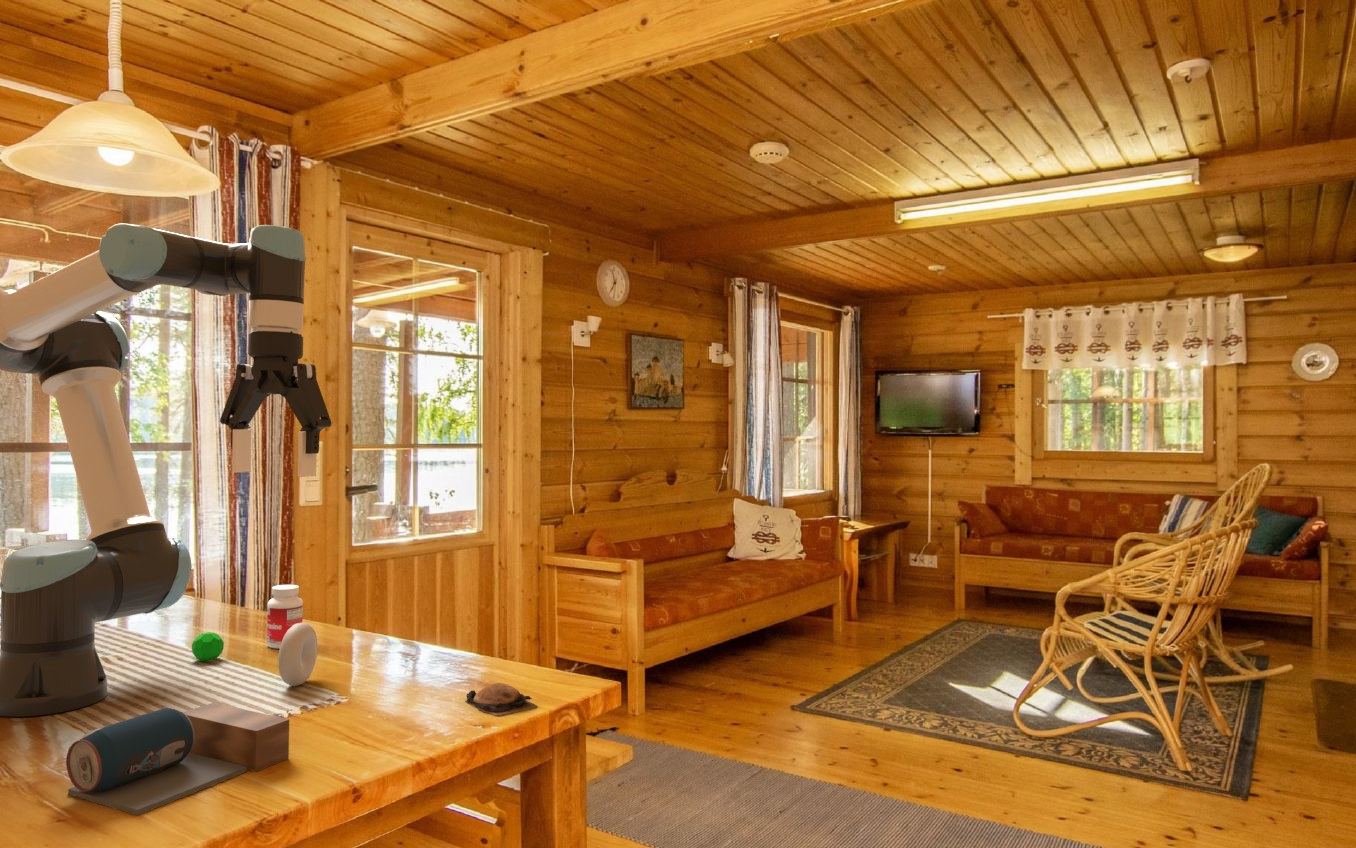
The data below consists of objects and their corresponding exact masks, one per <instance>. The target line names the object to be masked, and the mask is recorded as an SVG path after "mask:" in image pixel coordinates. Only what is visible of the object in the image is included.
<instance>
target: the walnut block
mask: <svg viewBox="0 0 1356 848" xmlns="http://www.w3.org/2000/svg"><path fill="white" fill-rule="evenodd" d="M182 712H183V713H185V714H186V715H187V716H188V717H189V719H190V720H191V722H192V725H193V728H194V734H195V739H194V744H193V747H192V749H191V751H190V752H191V753H194V754H198V755H202V756H206V757H210V758H214V759H218V760H222V761H226V762H230V763H234V764H237V765H241V766H245V767H247V770H248V771H251V772H255V773H256V772H259V771H261V770H264V769H266V768H268V767H271V766H274V765H276V764H278V763H281V762H284V761H286V760H288V759H289V753H290V749H289V747H290V719H289V718H285V717H280V716H277V715H271V714H266V713H262V712H257V711H254V710H253V711H252V710H249V709H243V708H240V707H239V708H238V707H235V706H231V705H230V706H229V705H225V704H220V703H218V702H217V703H216V702H211V703H208V704H205V705H202V706H198V707H195V708H192V709H188V710H185V711H182ZM247 770H246V771H247Z"/></svg>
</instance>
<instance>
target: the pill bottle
mask: <svg viewBox="0 0 1356 848" xmlns="http://www.w3.org/2000/svg"><path fill="white" fill-rule="evenodd" d="M299 594H300V586H299V585H297V584H279V585H274V586H272V587H271V595H272V598H271V599H269V601H268V602H267V605H266V607H267V610H266V611H267V614H266V615H267V616H266V645H267V647H269V648H271V649H275V650H276V649H278V650H280V646H281V643H282V640H283V637H284V635H285V634H286V632H287V630H288V629H290V628H291V627H292V626H293V625H294V624H297V623H303V611H304V610H303V609H304V605H303V604H304V601H303V599H302V598H301V597H299V596H298V595H299Z"/></svg>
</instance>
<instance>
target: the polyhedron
mask: <svg viewBox="0 0 1356 848" xmlns="http://www.w3.org/2000/svg"><path fill="white" fill-rule="evenodd" d="M224 644H225V642H224V641H223V638H222V637H221V635H219V634H218V633H217V632H211V631H207V632H202V633H201V634H199V635H198V636H197V637H195V639H194V640H193V641H192V645H191V652H192V655H193V656H194V658H196V660H198V661H200V662H212V661H214V660H216V659H218V658H219V657H220V656H221V654H222V653H223V650H224V648H225V645H224Z"/></svg>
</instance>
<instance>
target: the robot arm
mask: <svg viewBox="0 0 1356 848" xmlns="http://www.w3.org/2000/svg"><path fill="white" fill-rule="evenodd" d="M99 243H100V244H98V245H99V247H98V250H96V251H94V252H92V253H90V254H87V255H86V256H85V257H82V258H80V259H77V260H76V261H74V262H71V263H70V264H68V265H66V266H64V267H62V268H59V269H58V270H55V271H53V272H52V273H49V274H48V275H46V276H44V277H41V278H39V279H37V280H35V281H34V282H33V281H32V282H31V283H29V284H26V285H24V286H23V287H20V288H19V289H16V290H15V289H4V290H0V371H5V372H8V373H14V374H15V373H16V374H29V375H31V374H32V375H37V376H38V381H39V384H40V388H41V390H42V392H43V393H44V394H45V395H46V394H47V395H49V396H50V397H52V398H54V399H55V402H56V405H57V410H58V412H59V416H60V420H61V423H62V427H63V431H64V435H65V438H66V439H65V440H66V442H67V446H68V448H69V454H70V457H71V460H72V464H73V468H74V472H75V475H76V479H77V483H78V486H79V490H80V494H81V497H82V501H83V505H84V508H85V512H86V515H87V519H88V523H89V527H90V530H91V531H90V534H89V535H88V536H87V537H86V539H66V540H61V541H50V542H48V541H47V542H43V543H38V544H35V545H34V544H33V545H29V546H27V547H23V548H20V549H17V550H16V551H13V552H12V553H11V554H9V555H8V556H6V558H5V559H4V562H3V563H2V569H1V570H2V572H1V578H0V591H1V595H0V717H13V718H14V717H15V718H18V717H35V716H46V715H52V714H57V713H64V712H69V711H73V710H77V709H81V708H84V707H88V706H90V705H93V704H95V703H97V702H99V701H102V700H103V699H104V698H105V697H106V696H107V695H108V678H107V675H106V673H105V670H104V668H103V667H104V666H103V664H102V662H101V660H100V656H99V654H98V651H97V649H96V644H95V642H96V641H95V637H96V636H95V633H96V623H99V622H105V621H111V620H116V619H121V618H126V617H131V616H136V615H140V614H145V615H147V614H151V613H153V612H156V611H158V610H163V609H167V608H169V607H171V606H173V605H175V604H176V603H178V601H180V599H182V597H183V596H184V595H185V593H186V591H187V588H188V586H189V584H190V580H191V576H192V559H191V555H190V551H189V549H188V547H187V546H186V544H185V543H182V541H181V540H180V539H178V538H176V537H175V538H174V537H171V536H169V537H168V536H167V531H166V529H165V525H164V522H162V521H160V520H158V519H156V518H154V517H152V516H151V514H150V510H149V506H148V503H147V498H146V495H145V492H144V489H143V486H142V481H141V478H140V474H139V470H138V467H137V463H136V460H135V456H134V453H133V449H132V446H131V441H130V439H129V436H128V432H127V429H126V425H125V420H124V418H123V414H122V411H121V406H120V403H119V400H118V397H117V393H116V390H115V387H116V386H117V384H119V382H120V380H121V379H122V372H123V371H124V370H125V369H126V367H127V365H128V362H129V360H130V359H129V357H128V356H127V355H128V354H130V343H129V339H128V335H127V333H126V331H125V328H124V327H123V326H122V325H121V323H120V321H118V320H117V319H116V318H115V317H114V316H112V315H111V314H108V313H106V312H103V311H102V310H105V309H108V308H109V307H111V306H113V305H116V304H119V303H120V302H122V301H124V300H126V299H129V298H131V297H133V296H135V295H138V294H140V293H142V292H144V291H146V290H150V289H151V288H155V287H156V286H159V285H163V286H164V285H165V286H172V287H177V288H185V289H192V290H195V291H197V292H199V293H201V294H202V295H203V294H204V295H207V296H208V295H211V296H219V297H225V296H228V295H241V294H242V295H243V294H245V295H246V294H249V295H248V321H247V325H248V328H250V329H252V331H250V332H249V333H248V335H247V337H248V338H247V339H248V343H247V344H248V346H247V355H248V356H249V357H251V358H253V359H252V361H253V362H252V364H249V363H248V364H245V363H238V364H237V365H236V367H235V368H236V369H235V378H234V381H233V384H232V386H231V389H230V392H229V395H228V397H227V400H226V402H225V405H224V408H223V411H222V414H221V416H220V419H219V423H220V424H222V425H225V426H227V427H228V428H229V429H230V448H231V449H230V450H232V455H231V473H235V474H236V473H251V470H252V469H251V468H252V467H251V466H252V464H251V462H252V460H251V459H252V427H251V426H250V423H251V421H252V419H253V418H254V416H255V415H256V414H257V412H258V410H259V409H260V407H261V405H262V404H263V402H264V401H265V399H266V398H267V397H269V396H270V395H280V396H281V397H283V398H284V399H285V401H286V402H287V404H288V406H289V407H290V409H291V411H292V412H293V414H294V415H295V418H296V419H297V421H298V422H299V425H300V426H301V428H300V429H299V431H298V439H297V440H298V444H297V445H298V447H297V448H298V450H297V451H298V453H297V478H299V477H300V478H307V477H317V457H318V455H317V454H319V452H320V432H321V431H322V430H323V429H325V428H331V426H332V420H331V416H330V415H329V411H328V409H327V406H326V403H325V400H324V397H323V395H322V391H321V389H320V386H319V383H318V379H317V367H316V365H315V364H309V363H301V362H300V363H299V360H300V359H302V358H303V356H304V336H303V335H302V334H300V333H299V332H302V331H303V330H304V313H305V312H304V309H305V308H304V307H305V305H304V303H305V300H304V299H305V273H306V272H305V271H306V270H305V267H306V261H307V257H306V246H305V237H304V234H303V233H302V232H301V231H300V230H298V229H296V228H293V227H289V226H282V225H271V224H261V225H256V226H254V227H252V228H251V229H250V235H249V239H248V242H246V243H223V242H219V241H213V240H210V239H204V238H199V237H194V236H189V235H185V234H179V233H177V232H176V233H175V232H170V231H166V230H162V229H157V228H153V227H151V226H147V225H146V224H145V225H143V224H132V223H131V224H130V223H123V222H121V223H117V224H113V225H111V226H110V227H108V228H107V229H106V234H104V235H102V236H101V239H100V242H99ZM231 415H232V416H231Z"/></svg>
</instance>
